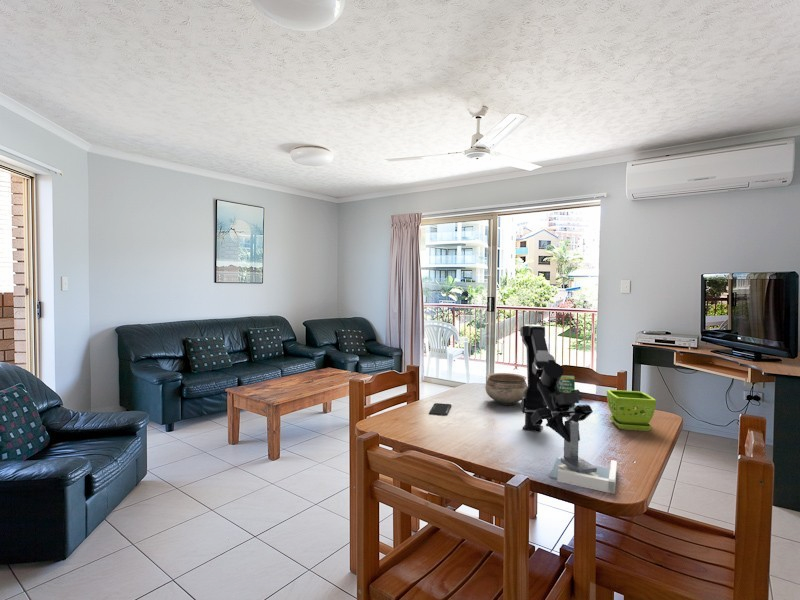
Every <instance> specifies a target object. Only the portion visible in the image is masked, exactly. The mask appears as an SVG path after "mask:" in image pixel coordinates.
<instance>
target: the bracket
mask: <svg viewBox="0 0 800 600" xmlns="http://www.w3.org/2000/svg"><path fill="white" fill-rule="evenodd" d="M563 424H564V426H565V428H566V430H567V432H568V434H569V437H570V439H571V441H570V442H567V441H566V440H565V439H564V438H563V457H560V459H561V462H562V463H563V464H565V465H566V466H568V467H569V468H571V469H573V470H574V471H576V472H577V473H582V474H585V473H592V472H597V467H595V466H596V465H594V466H593V464H591V463H590V462H588V461H586V460H584V459H583V458H581V457H579V441H580V440H578V439H579V435H580V423H579V422H578V423H577V422H575V421H573V420H570V421H567V420H564V421H563Z"/></svg>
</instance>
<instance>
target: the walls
mask: <svg viewBox="0 0 800 600" xmlns="http://www.w3.org/2000/svg"><path fill="white" fill-rule="evenodd" d="M609 468H610V473H609V479H607V478H602V477H597V476H592V475H587V474H582V473H577V472H572V471H567V470H562V469H558V479H557V482H558V483H562V484H567V485H573V486H576V487H581V488H586V489H590V490H591V489H592V490H596V491H599V492H600V491H601V492H604V493H608V494H614V495H615V493H616V483H617V474H618V472H617V471H618V470H617V468H618V461H617V460H614V459H613V460H612V459H611V460H610V467H609Z"/></svg>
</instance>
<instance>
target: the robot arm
mask: <svg viewBox="0 0 800 600" xmlns="http://www.w3.org/2000/svg"><path fill="white" fill-rule="evenodd" d="M519 335H520V337H521V341H522V343H523V345H524V346H525V348H526V369H527V370H526V371H527V372H526V373H527V376H526V380H527V388H526V390H525V391H524V397H522V400H521V401H520V411H521V413H522V414H525V415H524V425H523V426H522V430H526V431H530V432H539V433H541V431H542V430H543V428H544V426H543V425H542V424H543V422H544V421H543V420H546V424H545V427H549V428H550V429H552V430H553V431H555V433H557V434H558V435H559V436H560V437H562V438H563V440H564V439H565V440H566V441H567V442H570V441H571V439H570V437H569V434H568V432H567V430H566V428H565V426H564V420H563V418H565V421H570V420H573V421H575V422H577V423H579V422H581V421H584V420H586V419H587V418H588V417H589V416H590V415H591V414H592V413H593V412H594V411H593V408H592V407H591V405H590V404H579V403H580V401H581V400H583V396H582V393H581V392H580V389H575V390H573V391H571V392H570V393H564V392H560V390H559V388H558V386H557V385H559V383H560V380H561V378H562V376H564V368H563V366H562V365H560V364H559V363H558V362H556V359H555V357H554V356H553V355H552V354H550V352H549V349H548V345H547V341H546V340H547V339H546V327H545V326H543V325H542V324H523V326H520V334H519ZM574 403H575V404H578V405H576V406H575V407H574V408H573V409H571V408H572V407H573V406H574V405H572V404H574ZM580 437H581V435H580V434H579V439H578V440H579V441H580V440H581V438H580Z"/></svg>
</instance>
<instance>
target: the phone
mask: <svg viewBox="0 0 800 600" xmlns="http://www.w3.org/2000/svg"><path fill="white" fill-rule="evenodd" d="M451 408H452V404H450V403H439V402H434V403H433V405H432V407H431V408H430V410H429V411H428V412H429V413H428V414H429V415H432V414H434V415H433V416H446V417H447V416H448V415H449V413H450V411H451Z"/></svg>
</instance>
